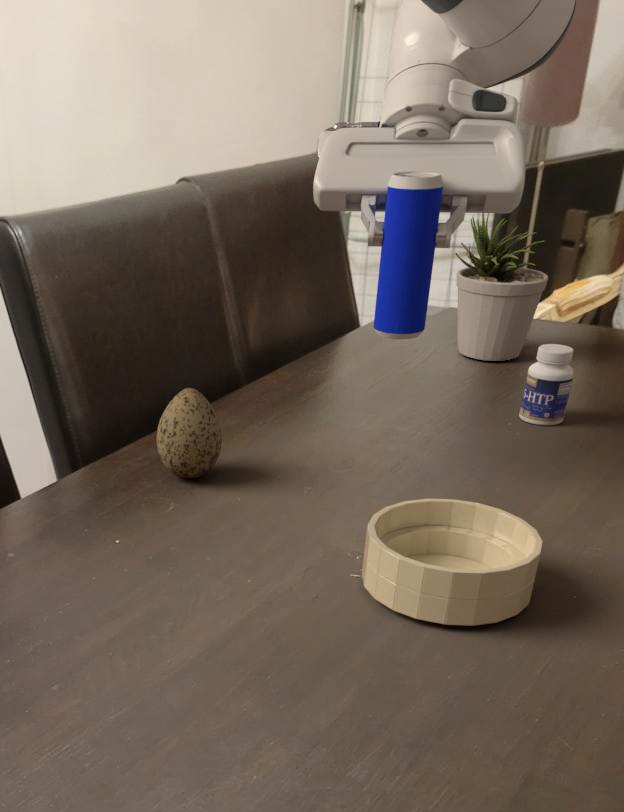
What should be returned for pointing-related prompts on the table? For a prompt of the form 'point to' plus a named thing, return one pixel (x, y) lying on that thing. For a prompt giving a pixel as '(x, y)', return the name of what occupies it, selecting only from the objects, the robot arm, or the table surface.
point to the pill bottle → (547, 386)
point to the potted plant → (496, 297)
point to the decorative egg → (189, 435)
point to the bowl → (450, 561)
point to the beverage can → (407, 253)
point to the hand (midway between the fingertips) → (408, 243)
